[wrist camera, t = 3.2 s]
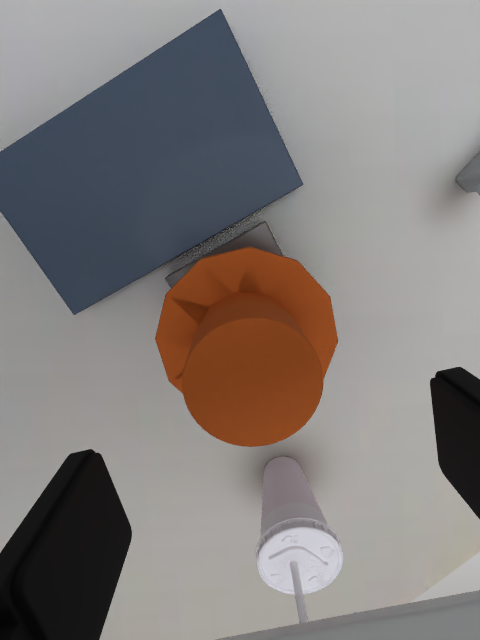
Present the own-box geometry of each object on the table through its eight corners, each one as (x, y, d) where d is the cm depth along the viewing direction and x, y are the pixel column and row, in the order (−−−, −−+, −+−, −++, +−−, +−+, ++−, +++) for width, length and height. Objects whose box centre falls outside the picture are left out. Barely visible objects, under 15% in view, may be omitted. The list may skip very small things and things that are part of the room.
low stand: (86, 307, 31) (73, 315, 28) (-7, 174, 28) (-29, 170, 25) (297, 187, 28) (303, 184, 26) (221, 27, 25) (220, 7, 23)
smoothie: (258, 438, 34) (276, 581, 21) (322, 451, 35) (380, 597, 22) (243, 493, 36) (250, 657, 23) (304, 504, 37) (347, 671, 23)
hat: (213, 443, 22) (207, 524, 16) (121, 303, 19) (74, 340, 14) (364, 369, 21) (415, 427, 15) (286, 210, 18) (311, 207, 12)
